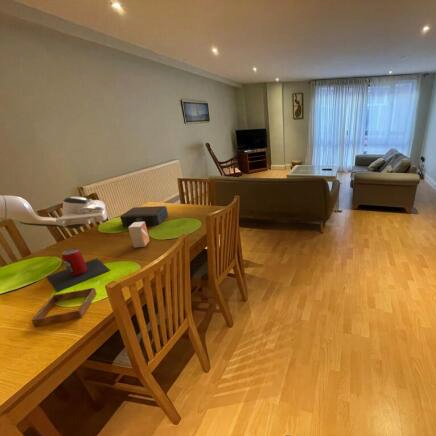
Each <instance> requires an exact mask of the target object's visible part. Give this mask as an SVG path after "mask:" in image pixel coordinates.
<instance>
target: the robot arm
mask: <svg viewBox="0 0 436 436" xmlns="http://www.w3.org/2000/svg"><path fill="white" fill-rule="evenodd" d="M107 219H108V213H107V210H106V204H105V202H104V201H102V200H100V199H90V198H87V197H85V196H81V195H71V196H68V197H65V198H64V199H63V202H62V214H61V216H60V217H50V216H40V215H38V214H36V212H35V210H34V209H33V207H32V205H31V204H30V203H29V202H28V200H26V199H24V198H23V197H20V196H18V195H2V194H0V220H14V221H18V222H19V224H22V225H27V226H36V227H53V228H66V229H79V228H82V227H83V226H84V225H90V224H92V223H98V222H105V221H106V220H107Z"/></svg>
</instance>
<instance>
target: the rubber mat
mask: <svg viewBox="0 0 436 436" xmlns="http://www.w3.org/2000/svg"><path fill="white" fill-rule="evenodd" d="M84 262H85V264H86V267H87V270H86V271H85V272H84V273H83V274H81V275H78V276H71V275H69V273H68V270H67V268H66V269H64V270H60V271H58V272H55V273H52V274H50V275H47V276H46V278H47V280H48V282H50V284H51V286H52V287H53V289H54V290H55V291H56V293H59V292H61V291H63V290H66V289H68V288H71V287H73V286H75V285H78V284H80V283H84V282H86V281H88V280H90V279H93V278H95V277H97V276H99V275H102V274H105V273H107V272H110V271H111V269H110V268H109V267H108V266H107V265H105V264H104V262H102V261H101V260H99V258H94V259H91V260H88V261H84ZM108 270H109V271H108ZM106 271H107V272H106Z"/></svg>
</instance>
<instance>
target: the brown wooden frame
mask: <svg viewBox="0 0 436 436" xmlns="http://www.w3.org/2000/svg"><path fill="white" fill-rule="evenodd" d="M97 294H98V293H97V290H96V288H95V287H91V288H84V289H79V290H72V291H67V292H63V293H56V294H53V295H52V296H51V297H50V298H49V299H48V300H47V301H46V303H45V304H44V305H43V306H42V307H41V308H40V309H39V310H38V312H37V313H36V314H35V316H33V318H31V323H32V325H33V326H34V328H37V327H41V326H42V327H43V326H47V325H52V324H56V323H61V322H66V321H70V320H71V321H72V320H76V319H81V318H83V317H84V315H85V314H86V312H87V310H88V309H89V307H90V305H91V304H92V303H93V301H94V299H95V298H96V296H97ZM84 297H86V298H85V299H84V300H83V302H82V304H81V305H80V306H79V308H78V309H76V310H72V311H67V312H61V313H57V314H52V315H48V314H49V312H50V311H51V310H52V309H53V308H54V306H55V305H56V304H57V303H58V302H64V301H67V300H68V301H69V300H73V299H78V298H79V299H80V298H84Z"/></svg>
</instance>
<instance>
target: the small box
mask: <svg viewBox="0 0 436 436" xmlns="http://www.w3.org/2000/svg"><path fill="white" fill-rule="evenodd" d="M127 227H128V232H129V236H130V239H131V242H132V246H133V248H144V247H146V246H147V244H148V243H150V237H149V233H148V228H147V225H146V224H145V222H134V223H133V224H131V225H130V226H127Z"/></svg>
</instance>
